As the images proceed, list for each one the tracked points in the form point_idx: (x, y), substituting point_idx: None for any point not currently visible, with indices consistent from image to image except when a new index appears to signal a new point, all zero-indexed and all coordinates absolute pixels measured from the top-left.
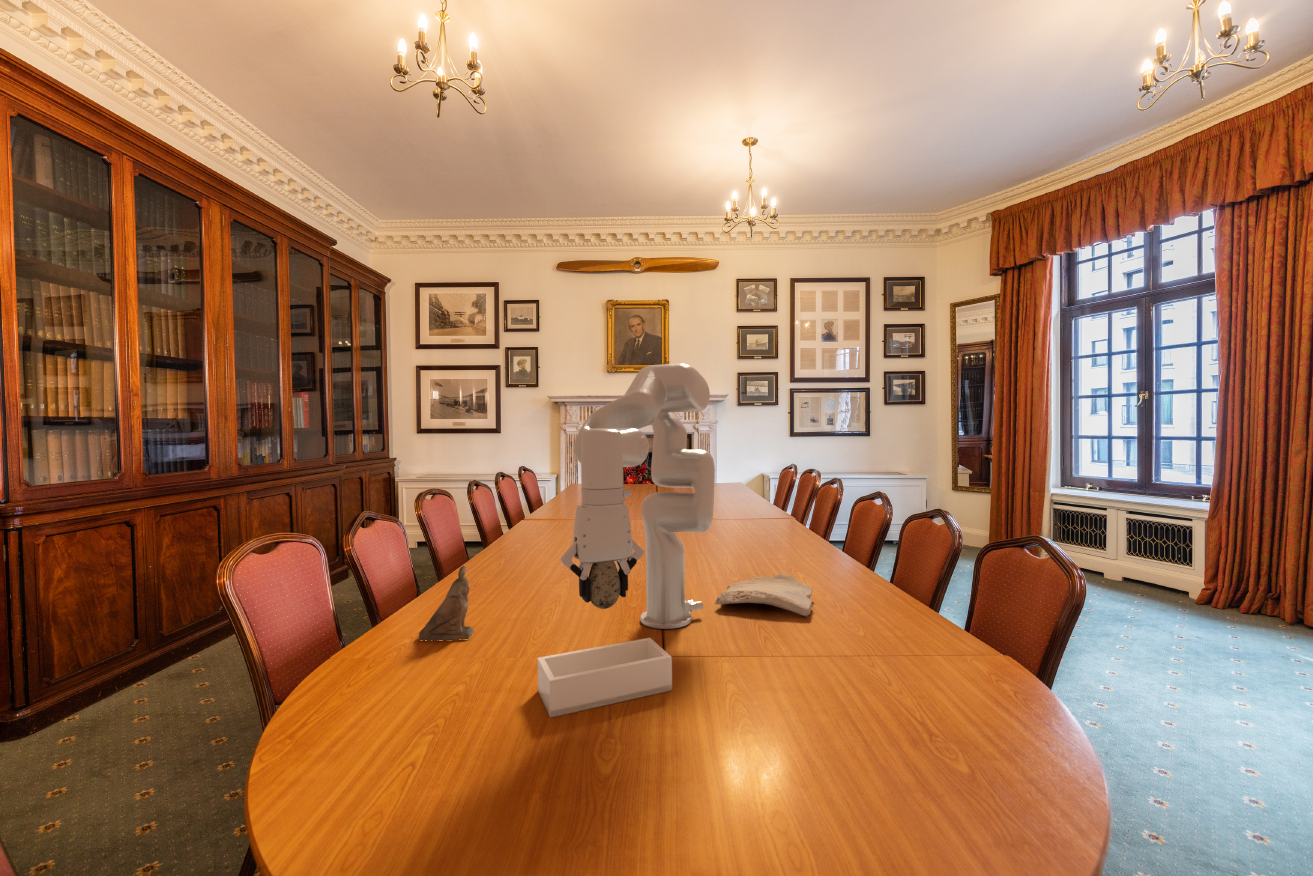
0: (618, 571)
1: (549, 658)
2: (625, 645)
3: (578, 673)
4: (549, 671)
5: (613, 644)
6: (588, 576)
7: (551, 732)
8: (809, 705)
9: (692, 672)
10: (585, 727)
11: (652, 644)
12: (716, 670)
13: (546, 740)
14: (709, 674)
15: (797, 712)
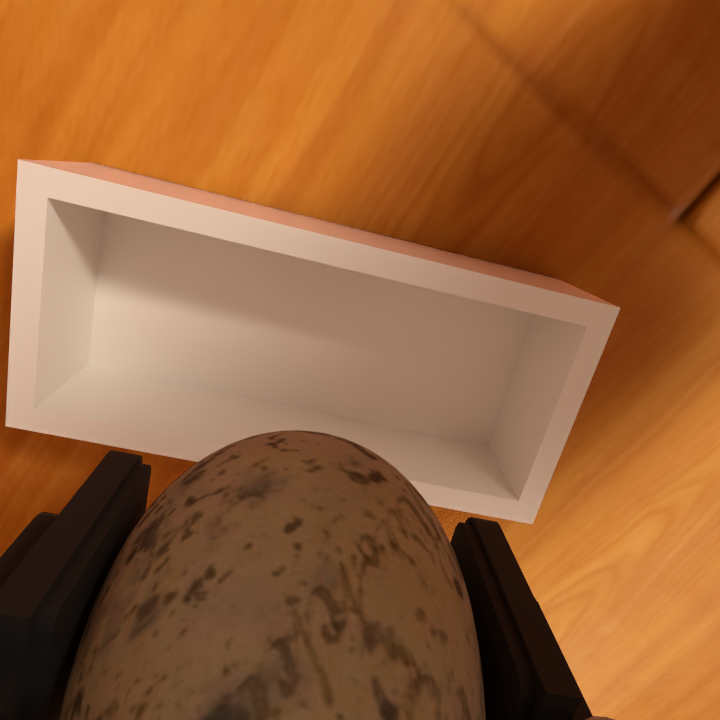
0: (561, 698)
1: (77, 204)
2: (476, 298)
3: (138, 436)
4: (30, 346)
5: (430, 264)
6: (66, 692)
7: (52, 445)
8: (686, 697)
9: (639, 400)
10: (153, 478)
11: (568, 381)
12: (706, 437)
13: (27, 471)
14: (665, 444)
15: (636, 701)
